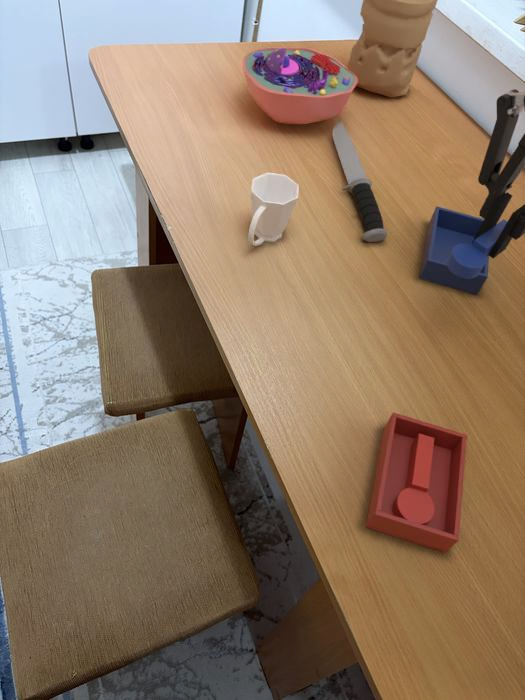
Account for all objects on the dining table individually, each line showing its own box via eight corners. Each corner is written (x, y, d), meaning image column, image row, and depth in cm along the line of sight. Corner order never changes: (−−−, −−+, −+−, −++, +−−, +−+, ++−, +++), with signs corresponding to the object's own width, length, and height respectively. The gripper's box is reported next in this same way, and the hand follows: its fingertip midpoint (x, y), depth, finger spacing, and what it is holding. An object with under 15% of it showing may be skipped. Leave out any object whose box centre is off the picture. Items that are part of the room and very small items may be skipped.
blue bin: (477, 294, 84) (487, 277, 81) (419, 278, 84) (427, 260, 82) (481, 239, 91) (491, 221, 88) (428, 224, 92) (436, 206, 89)
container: (377, 64, 121) (404, -33, 107) (419, 94, 116) (453, -4, 101) (331, 77, 116) (353, -23, 101) (373, 109, 110) (402, 8, 96)
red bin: (445, 552, 61) (458, 540, 58) (365, 527, 61) (375, 514, 58) (454, 449, 68) (467, 434, 65) (383, 428, 69) (392, 412, 66)
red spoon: (402, 440, 67) (409, 430, 65) (436, 451, 67) (444, 440, 65) (389, 523, 61) (397, 514, 59) (427, 534, 61) (435, 526, 59)
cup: (299, 227, 88) (308, 183, 82) (269, 267, 82) (277, 223, 76) (258, 210, 89) (264, 165, 83) (226, 248, 84) (229, 203, 77)
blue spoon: (487, 229, 74) (496, 213, 72) (513, 248, 72) (523, 232, 70) (439, 263, 69) (447, 247, 67) (466, 284, 67) (476, 268, 65)
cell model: (343, 152, 101) (359, 90, 92) (229, 130, 101) (234, 66, 92) (350, 101, 111) (365, 40, 102) (246, 81, 111) (252, 18, 102)
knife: (358, 247, 88) (391, 242, 88) (360, 233, 86) (393, 228, 86) (317, 129, 104) (345, 126, 105) (318, 115, 102) (346, 111, 102)
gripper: (693, 79, 51) (556, 268, 70) (548, 9, 57) (457, 201, 76) (658, 105, 48) (523, 297, 67) (507, 27, 53) (422, 224, 72)
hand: (488, 246), depth 71 cm, fingers closed on blue spoon, 2 cm apart
